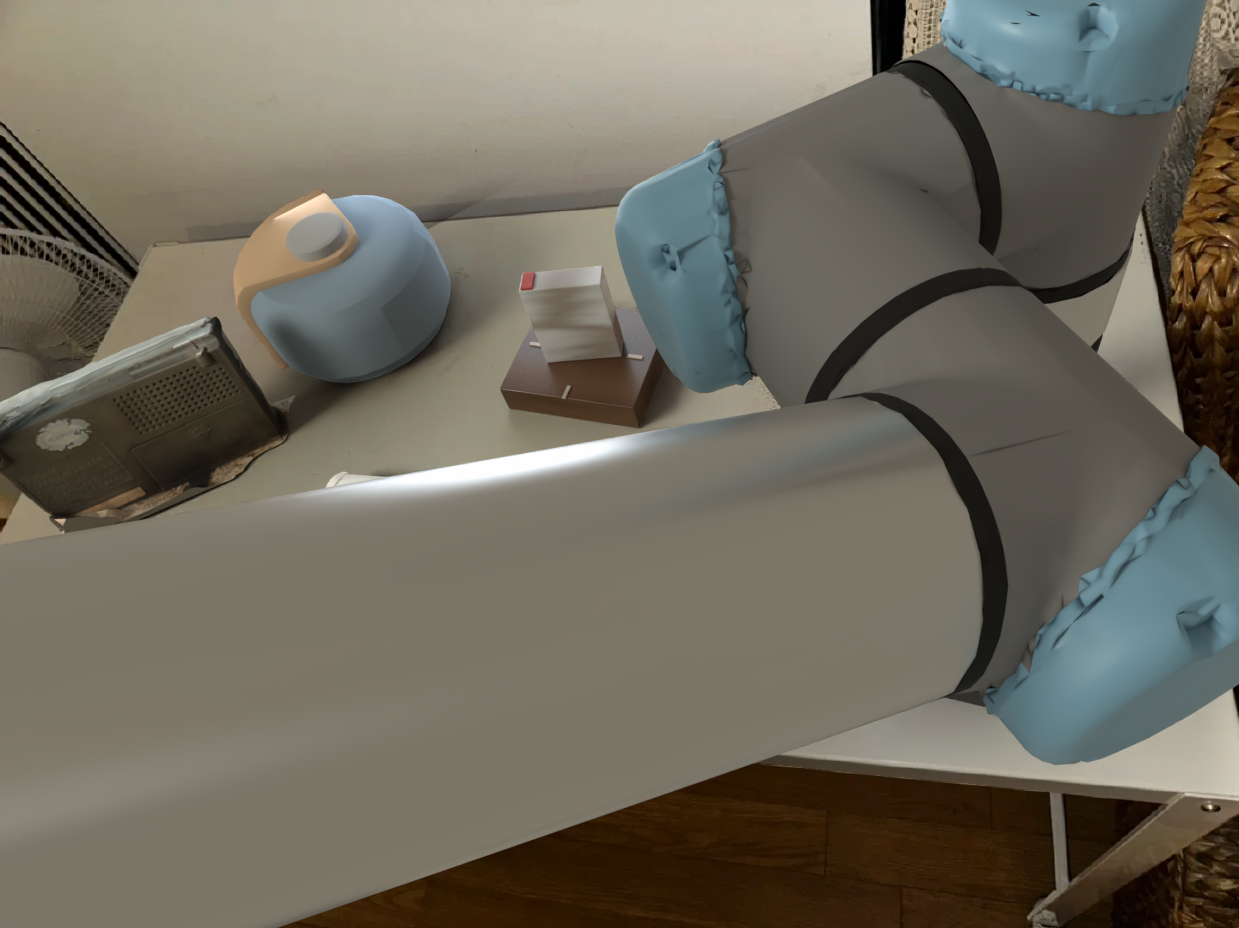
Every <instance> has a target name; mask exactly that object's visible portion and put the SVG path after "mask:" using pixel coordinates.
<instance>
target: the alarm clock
mask: <svg viewBox="0 0 1239 928" xmlns="http://www.w3.org/2000/svg"><path fill="white" fill-rule="evenodd" d="M447 267H448V266H447V265H446V263H445V261H444V259H443V257H442V254H441V253H440V251H439V249H438V246H437V244H436V242H435V240H434V238H433V236H432V234H431V233H430V232H429V230H428V229H427V227H426V226H425V225H424V224H423V222H422V221H421V219H420V218H419V217H418V216H417V215H416V213H415V212H413V211H412V210H411V209H409V208H407V207H405V206H403V205H402V204H400V203H398V202H396V201H394V200H393V199H390V198H386V197H383V196H378V195H374V194H369V195H367V194H365V195H364V194H363V195H362V194H361V195H360V194H354V195H348V196H343V197H338V198H330V196H328V194H327V193H326V191H324V189H322V188H318V189H315V190H313V191H312V192H309V193H307V194H305V195H303V196H301V197H299V198H297V199H294V200H293V201H291V202H289V203H286V204H285V205H284V206H282V207H281V208H279V209H278V210H276V211H275V212H273V213H272V214H271V215H269V216H267V218H266V219H264V220H263V222H262V223H261V224H260V225H258V227H257V228H256V229H255V230H254V231H253V232H252V234H251V235H250V236H249V238H248V240H247V241H246V243H245V244H244V246H243V248H242V249H241V251H240V253H239V254H238V257H237V260H236V263H235V266H234V269H233V277H232V285H233V293H234V298H235V307H236V309H237V311H238V313H239V315H240V317H241V319H242V321H243V322H244V323H245V324H246V326H247V327H248V329H250V331H251V332H252V333H253V335H254V336H255V337H256V339H257V340H258V341H259V343H260V344H261V345H262V347H263V348H264V349H265V351H266V352H267V353H268V354H269V355H270V357H271V358H272V359H273V361H274V362H275V364H276V365H277V366H278V368H279V369H285V368H289V367H290V368H291V369H293V370H294V371H296V372H297V373H300V374H302V375H305V376H307V377H311V378H314V379H320V380H322V381H325V382H329V383H339V384H341V383H342V384H350V383H357V382H363V381H369V380H372V379H374V378H378V377H381V376H383V375H384V376H385V375H387V374H389V373H391V372H393V371H395V370H397V369H398V368H400V367H402V366H403V365H406V364H407V363H409V362H410V361H412V360H413V359H414V358H415V357H416V356H417V355H419V354H420V353H421V352H423V350H425V349H426V348H428V347H427V346H428V345H429V344H430V343H431V342H432V341H433V339H434V338H435V337H436V335H437V334H438V333H439V331H440V329H441V327H442V324H443V323H444V320H445V317H446V316H447V309H448V306H449V305H450V299H451V293H452V292H451V290H452V282H451V278H450V273H449V270H448V268H447Z"/></svg>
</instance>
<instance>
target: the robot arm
mask: <svg viewBox="0 0 1239 928" xmlns="http://www.w3.org/2000/svg"><path fill="white" fill-rule="evenodd" d="M1207 1H1208V0H946V4H945V7H944V10H942V12H941V13H940V15H939V19H938V21H939V22H940V26H939V27H940V30H939V31H940V34H939V37H941V39H940V40H939V42H937V43H936V44H934V45H932V46H930V47H928V48H926V49H925V50H922V51H920V52H917V53H915V54H912V55H910V56H908V57H906V58H903V59H902V60H899V61H897V62H896V63H894V64H893V65H892V66H891V67H890V69H888V70H885V71H883V72H880V73H877V74H875V75H872V76H870V77H868V78H865V79H863V80H861V81H859V82H857V83H854V84H852V85H850V86H847V87H845V88H843V89H841V90H838V91H836V92H834V93H831V94H829V95H826V96H824V97H822V98H819V99H816V100H815V101H812V102H810V103H808V104H805V105H802V106H800V107H798V108H795V109H794V110H791V111H789V112H786V113H784V114H781V115H779V116H777V117H775V118H772V119H769V120H767V121H765V122H762V123H761V124H758V125H756V126H753V127H751V128H749V129H746V130H744V131H741V132H739V133H737V134H734V135H732V136H730V137H728V138H725V139H723V140H721V138H718V139H714V140H712V141H710V142H708V144H707V145H706V147H705V148H704V150H703V151H701V152H698V153H697V154H694V156H693V155H692V156H691V157H689V158H687V159H684V160H683V161H681V162H679V163H677V164H675V165H672V166H671V167H669V168H667V169H665V170H662V171H660V172H659V173H657V174H656V175H654V176H652V177H649V178H648V179H645V180H643V181H642V182H640V183H637V184H635V185H634V186H633V187H631V189H629V190H628V191H627V192H626V193H625V194H624V196H623V197H622V199H621V200H620V201H619V202H620V203H619V205H618V207H617V210H616V213H615V221H614V236H615V237H614V238H615V242H616V248H617V253H618V256H619V259H620V263H621V268H622V270H623V274H624V276H625V280H626V282H627V285H628V287H629V290H630V293H631V295H632V298H633V301H634V302H635V305H636V307H637V311H639V313H640V315H641V317H642V319H643V321H644V324H645V326H646V328H647V330H648V332H649V334H650V336H651V338H652V340H653V342H654V344H655V345H656V347H657V349H658V351H659V353H660V355H661V356H662V358H663V360H664V361H665V364H666V366H667V367H668V369H669V370H670V372H671V373H672V374H673V375H674V377H676V378H678V379H679V380H680V382H681V383H682V385H683V386H684V387H686V388H687V389H689V390H690V391H692V392H694V393H698V394H711V393H715V392H718V391H721V390H724V389H726V388H729V387H733V386H742V387H743V386H745V384H747V383H748V382H749V381H753V380H754V378H757V377H759V379H760V381H761V382H762V383H763V385H764V386H765V387H766V389H767V390H768V392H769V393H770V394H771V396H772V397H773V398H774V401H776V403H777V405H778V406H779V407H780V408H773V409H769V410H764V411H763V410H762V411H759V412H758V411H757V412H752V413H745V414H741V415H734V416H730V417H729V416H728V417H724V418H717V419H712V420H706V421H700V422H695V423H689V424H683V425H677V426H672V427H671V426H670V427H666V428H665V427H664V428H660V429H655V430H654V429H653V430H649V431H644V432H638V433H632V434H631V433H630V434H626V435H620V436H615V437H609V438H602V439H597V440H592V441H586V442H580V443H575V444H569V445H563V446H558V447H551V448H546V449H545V448H544V449H539V450H534V451H529V452H524V453H516V454H511V455H506V456H500V457H493V458H488V459H483V460H478V461H477V460H476V461H471V462H465V463H460V464H454V465H448V466H443V467H437V468H431V469H426V470H419V471H413V472H408V473H403V474H396V476H393V475H390V476H384V477H385V478H379V479H373V480H367V481H362V482H356V483H350V484H344V485H339V486H333V487H327V488H326V487H323V488H316V489H310V490H305V491H298V492H294V493H287V494H283V495H277V496H271V497H264V498H259V499H253V500H248V501H247V500H246V501H243V502H241V501H240V502H236V503H230V504H225V505H219V506H213V507H208V508H201V509H197V510H190V511H185V512H179V513H173V514H167V515H161V516H156V517H151V518H144V519H138V520H136V521H132V522H127V523H121V524H115V525H109V526H104V527H98V528H92V529H87V530H81V531H75V532H69V533H64V534H62V533H59V534H52V535H46V536H42V537H35V538H29V539H24V540H19V541H13V542H8V543H7V542H6V543H0V928H281V927H284V926H286V925H289V924H294V923H296V922H298V921H301V920H304V919H306V918H307V919H308V918H311V917H313V916H315V915H318V914H321V913H325V912H328V911H330V910H333V909H335V908H339V907H342V906H344V905H347V904H351V903H353V902H356V901H360V900H362V899H365V898H368V897H371V896H373V895H377V894H379V893H382V892H386V891H388V890H390V889H394V888H396V887H400V886H402V885H406V884H409V883H411V882H415V881H417V880H421V879H423V878H425V877H429V876H431V875H435V874H438V873H440V872H443V871H446V870H449V869H452V868H455V867H458V866H460V865H465V864H467V863H469V862H472V861H476V860H478V859H481V858H484V857H486V856H489V855H494V854H495V853H498V852H501V851H505V850H507V849H510V848H513V847H516V846H518V845H519V846H520V845H522V844H524V843H527V842H530V841H532V840H536V839H539V838H542V837H545V836H548V835H550V834H553V833H556V832H560V831H562V830H565V829H568V828H570V827H573V826H576V825H579V824H582V823H585V822H588V821H591V820H593V819H597V818H600V817H602V816H605V815H608V814H612V813H614V812H617V811H619V810H623V809H626V808H629V807H631V806H635V805H637V804H640V803H643V802H646V801H649V800H652V799H654V798H658V797H660V796H663V795H666V794H669V793H672V792H675V791H678V790H681V789H684V788H686V787H689V786H692V785H695V784H698V783H701V782H704V781H707V780H710V779H714V778H716V777H719V776H721V775H724V774H727V773H730V772H732V771H736V770H738V769H741V768H744V767H747V766H750V765H754V764H756V763H759V762H762V761H765V760H768V759H770V758H774V757H776V756H779V755H782V754H786V753H789V752H791V751H793V750H797V749H800V748H802V747H806V746H809V745H811V744H814V743H817V742H820V741H822V740H826V739H828V738H829V739H830V738H831V737H834V736H837V735H840V734H843V733H846V732H849V731H852V730H855V729H857V728H860V727H863V726H866V725H870V724H872V723H875V722H878V721H880V720H883V719H887V718H889V717H892V716H896V715H897V714H901V713H904V712H906V711H911V710H913V709H915V708H918V707H922V706H924V705H928V704H930V703H932V702H936V701H938V700H942V699H946V698H945V697H948V696H951V695H954V694H960V693H966V692H972V691H977V690H979V692H980V694H981V696H982V698H983V700H982V701H983V702H984V704H985V705H986V707H985V708H986V712H987V713H986V714H987V715H993V716H995V717H996V718H998V719H999V720H1000V722H1001V723H1002V724H1003V725H1004V726H1005V727H1006V729H1007V730H1008V731H1009V732H1010V733H1011V734H1012V735H1013V737H1014V738H1015V739H1016V740H1017V742H1018V743H1019V744H1020V745H1021V746H1022V748H1023V749H1024V750H1025V751H1026V752H1027V753H1029V755H1030V756H1032V757H1034V758H1036V759H1038V760H1039V761H1041V762H1043V763H1047V764H1050V765H1054V766H1063V765H1064V766H1065V765H1076V764H1078V763H1081V762H1083V763H1090V762H1095V761H1098V760H1102V759H1104V758H1107V757H1109V756H1112V755H1114V754H1117V753H1119V752H1121V751H1123V750H1126V749H1128V748H1131V747H1132V746H1135V745H1136V744H1139V743H1141V742H1144V741H1145V740H1147V739H1150V738H1152V737H1153V736H1155V735H1157V734H1159V733H1161V732H1163V731H1164V730H1166V729H1168V728H1170V727H1172V726H1173V725H1175V724H1177V723H1179V722H1180V721H1182V720H1184V719H1186V718H1188V717H1189V716H1191V715H1193V714H1195V713H1196V712H1197V711H1198V712H1199V711H1200V710H1201V709H1203V708H1204V707H1206V706H1207V705H1209V704H1210V703H1212V702H1214V701H1215V700H1217V699H1218V698H1220V697H1221V696H1223V695H1225V694H1226V693H1227V692H1229V691H1230V690H1233V689H1234V688H1235V687H1237V686H1238V685H1239V485H1238V484H1237V482H1236V481H1235V480H1234V479H1233V478H1232V477H1231V476H1230V475H1229V473H1228V472H1227V471H1225V469H1224V468H1223V467H1222V466H1221V464H1220V463H1221V462H1220V456H1219V455H1218V454H1217V453H1216V452H1215V451H1213V449H1211V448H1209V446H1207V445H1205V444H1204V445H1202V447H1200V446H1199V445H1198V444H1197V443H1196V442H1195V441H1194V440H1193V439H1191V437H1189V436H1188V435H1187V434H1186V433H1184V432H1183V430H1181V428H1179V427H1178V425H1176V424H1175V423H1174V422H1173V421H1172V420H1170V418H1168V417H1167V416H1166V415H1165V414H1164V413H1163V412H1162V411H1161V410H1160V409H1159V408H1158V407H1156V406H1155V405H1154V404H1153V403H1152V402H1151V401H1150V400H1149V399H1148V398H1147V397H1146V396H1145V395H1143V393H1141V391H1139V390H1138V389H1137V388H1136V387H1135V386H1134V385H1132V384H1131V383H1130V382H1129V380H1127V378H1125V377H1124V376H1123V375H1121V374H1120V373H1119V371H1118V370H1116V369H1115V368H1114V367H1113V366H1112V365H1111V364H1110V363H1109V362H1108V361H1106V360H1105V359H1104V357H1102V356H1101V355H1100V354H1099V353H1098V352H1099V349H1100V348H1101V347H1100V346H1101V343H1102V340H1103V338H1104V333H1106V329H1107V327H1108V324H1109V322H1110V319H1111V316H1112V313H1113V310H1114V307H1115V304H1116V301H1117V298H1118V296H1119V293H1120V290H1121V287H1122V284H1123V280H1124V279H1125V278H1124V277H1125V275H1126V272H1127V268H1128V266H1129V263H1130V260H1131V257H1132V254H1133V247H1134V239H1135V232H1136V227H1137V223H1138V220H1139V217H1140V215H1141V211H1142V209H1143V206H1144V204H1145V200H1146V197H1147V195H1148V192H1149V189H1150V187H1151V184H1152V182H1153V178H1154V175H1155V173H1156V170H1157V167H1158V164H1159V162H1160V159H1161V156H1162V153H1163V151H1164V148H1165V145H1166V142H1167V139H1168V137H1169V134H1170V132H1171V128H1172V125H1173V123H1174V121H1175V118H1176V114H1177V112H1178V109H1179V107H1180V106H1181V104H1182V103H1183V102H1185V101H1186V98H1187V95H1188V93H1189V91H1190V89H1191V80H1190V73H1191V69H1192V63H1193V59H1194V55H1195V50H1196V46H1197V42H1198V37H1199V32H1200V29H1201V24H1202V19H1203V17H1204V12H1205V8H1206V4H1207Z"/></svg>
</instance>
